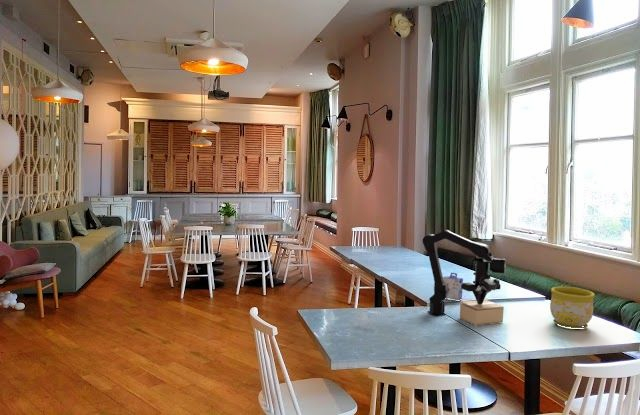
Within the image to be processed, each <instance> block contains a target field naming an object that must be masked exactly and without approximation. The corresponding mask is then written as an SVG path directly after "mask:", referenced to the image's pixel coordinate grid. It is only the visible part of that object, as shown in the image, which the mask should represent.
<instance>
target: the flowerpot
mask: <svg viewBox="0 0 640 415" xmlns="http://www.w3.org/2000/svg"><path fill="white" fill-rule="evenodd" d="M550 291H551V299H550V305H549V309H550V314H551V316H552V317H553V320H552V321H553V323H554V324H555V323H556V324H559V325H561V326H565V327H571V328H585V329H587V328H588V323H589V322H591V320H592V318H593V314H594V298H595V297H596V295H595V294H596V293H594V292H593V291H590V290H588V289H584V288H579V287H573V286H554V287H551V289H550ZM556 324H555V325H556ZM582 326H584V327H582Z"/></svg>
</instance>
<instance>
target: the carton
mask: <svg viewBox="0 0 640 415" xmlns="http://www.w3.org/2000/svg"><path fill="white" fill-rule="evenodd" d="M459 305H460V307H459V319H460V320H463V321H465V322H467V323H469V322H470V323H469V324H471V323H472V325H473V324H474V325H473V326H475V325H478V326H482V325H481V324H486V325H491V324H490V323H495V324H500V323H499V322H504V310H505V309H504V308H495V309H479V310H476V309H474V308H472V307H469V306H467V305H465V304H462V303H460V304H459Z"/></svg>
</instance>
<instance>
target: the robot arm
mask: <svg viewBox="0 0 640 415" xmlns="http://www.w3.org/2000/svg"><path fill="white" fill-rule="evenodd" d="M443 240H447V241H450V242H452V243H454V244H456V245H458V246H461V247H463V248H465V249H467V250H469V251H470V252H471V253H473V254H474V255H475V256H474V257H473V258H472V259H471V261H472V262H475V271H474V272H473V275H474V280H473V281H472V283H471V282H463V283H462V284H461V289H462V290H464V291H467V292H472V293H473V295H474V297H475V301H477V303H478V304H482V303H483V301H484V300H486V299H485V298H486V296H487V294H489V293H491V292H492V291H496V290H501V284H500V279H498V278H493V279H492V278H491V274H490V273H489V271H490V272H491V273H493V274H494V273H495V274H501V275H502V274H503V275H505V274H506V270H507V269H506V268H507V264H506V259H505V258H495V257H494V255H493V254H492V252H491V249H490V246H489V245H488V244H485V243H482V242H477V241H472V240H470V239H468V238H466V237H464V236H461V235H459V234H457V233H454V232H452V231H451V230H449V229H444V230H443V231H440V232H438V233H435V234H433V233H428V234H427V235H426V234H425V236H423V237H422V244H423V246H424V250H426V252H427V254H428V259H429V263H430V268H431V272H432V276H433V281H434V282H433V283H434V284H433V295H431V297H429V310H428V311H427V314H430V315H431V316H432V315H433V316H435V317H437V316H439V317H440V316H446V315H447V314H446V313H445V308H446V304H445V301H444V300H446V299H445V298H446V297H447V296H448V294H449V291H450V289H449V287H448V283H445V282H444V280H443V277H444V276H443V271H442V268H441V263H440V259H439V254H438V242H440V241H443Z"/></svg>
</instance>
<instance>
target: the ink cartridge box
mask: <svg viewBox="0 0 640 415" xmlns="http://www.w3.org/2000/svg"><path fill="white" fill-rule="evenodd" d="M443 280H444V282H445V283H448V287H449V289H450V291H449V294H448V296H447V297H446V298H450V299H455V300H460V299H462V300H463V289H461V284H462V283H464V278H462V277H458V273H456V272H450V275H449V276H448V275H446V276H443Z"/></svg>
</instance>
